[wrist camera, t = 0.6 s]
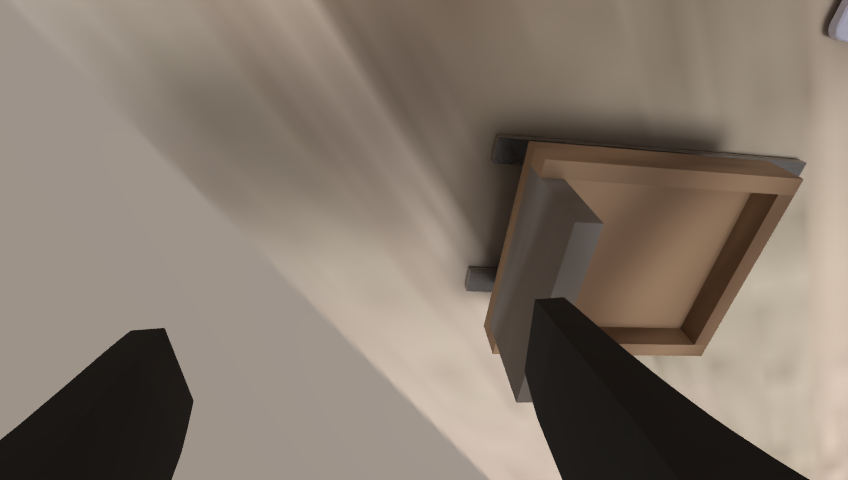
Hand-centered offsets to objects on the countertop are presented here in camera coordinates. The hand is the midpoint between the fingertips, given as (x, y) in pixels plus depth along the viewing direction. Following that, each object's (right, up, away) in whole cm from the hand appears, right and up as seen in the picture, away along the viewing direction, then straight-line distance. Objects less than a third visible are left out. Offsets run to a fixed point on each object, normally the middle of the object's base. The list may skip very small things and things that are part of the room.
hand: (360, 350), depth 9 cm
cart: (+8, +3, +10) cm, 14 cm away
